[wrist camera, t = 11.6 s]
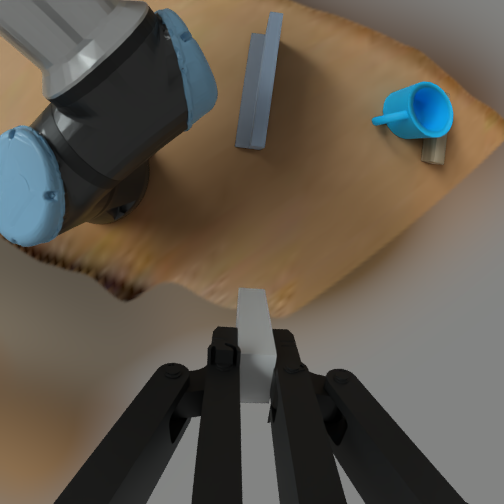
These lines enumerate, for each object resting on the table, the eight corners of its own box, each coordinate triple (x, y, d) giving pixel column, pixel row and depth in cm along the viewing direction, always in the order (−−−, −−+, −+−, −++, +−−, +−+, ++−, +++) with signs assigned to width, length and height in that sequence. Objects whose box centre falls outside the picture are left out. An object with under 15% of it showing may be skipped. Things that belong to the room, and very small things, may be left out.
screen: (235, 146, 43) (233, 143, 35) (251, 34, 38) (253, 9, 30) (260, 149, 43) (264, 147, 35) (275, 38, 38) (283, 13, 30)
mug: (416, 87, 41) (443, 78, 33) (430, 134, 43) (459, 132, 35) (355, 99, 42) (376, 89, 34) (371, 149, 44) (395, 149, 36)
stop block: (421, 160, 44) (434, 161, 40) (427, 93, 41) (440, 90, 37) (430, 163, 44) (443, 164, 41) (436, 97, 41) (449, 94, 37)
